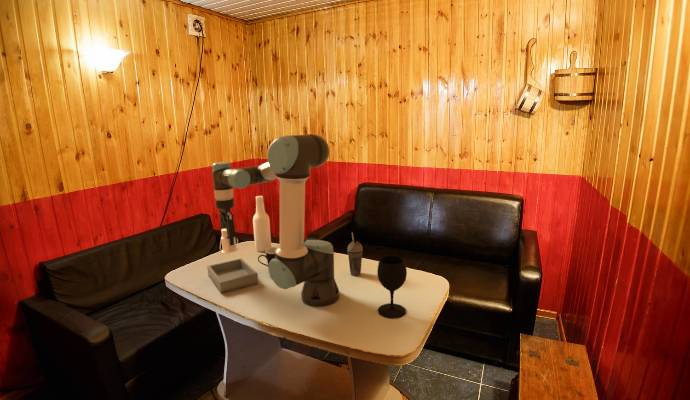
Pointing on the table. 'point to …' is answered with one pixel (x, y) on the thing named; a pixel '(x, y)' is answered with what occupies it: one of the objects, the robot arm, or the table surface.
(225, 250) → the downlight
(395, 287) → the wine glass
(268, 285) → the table surface
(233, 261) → the tote
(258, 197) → the alcohol
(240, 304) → the table surface
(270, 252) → the coffee mug
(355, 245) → the beverage cup
